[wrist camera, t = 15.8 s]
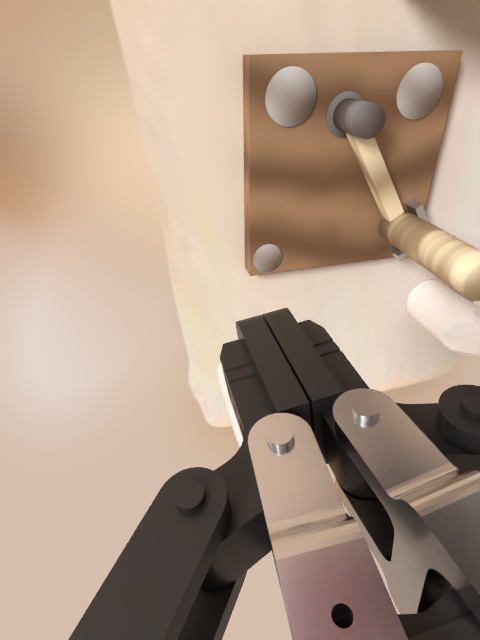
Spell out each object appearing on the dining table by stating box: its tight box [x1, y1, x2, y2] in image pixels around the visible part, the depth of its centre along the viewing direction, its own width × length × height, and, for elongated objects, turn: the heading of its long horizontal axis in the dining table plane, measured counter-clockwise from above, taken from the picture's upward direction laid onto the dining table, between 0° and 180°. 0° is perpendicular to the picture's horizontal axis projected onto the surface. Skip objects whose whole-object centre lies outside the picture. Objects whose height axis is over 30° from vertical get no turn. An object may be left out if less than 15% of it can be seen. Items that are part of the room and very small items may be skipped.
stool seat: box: [243, 51, 462, 276], centre depth 39 cm, size 19×19×2 cm
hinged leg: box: [333, 98, 480, 301], centre depth 34 cm, size 16×4×13 cm, turn 34°
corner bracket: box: [388, 198, 429, 261], centre depth 42 cm, size 4×4×2 cm
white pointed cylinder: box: [407, 280, 480, 357], centre depth 48 cm, size 6×12×6 cm
